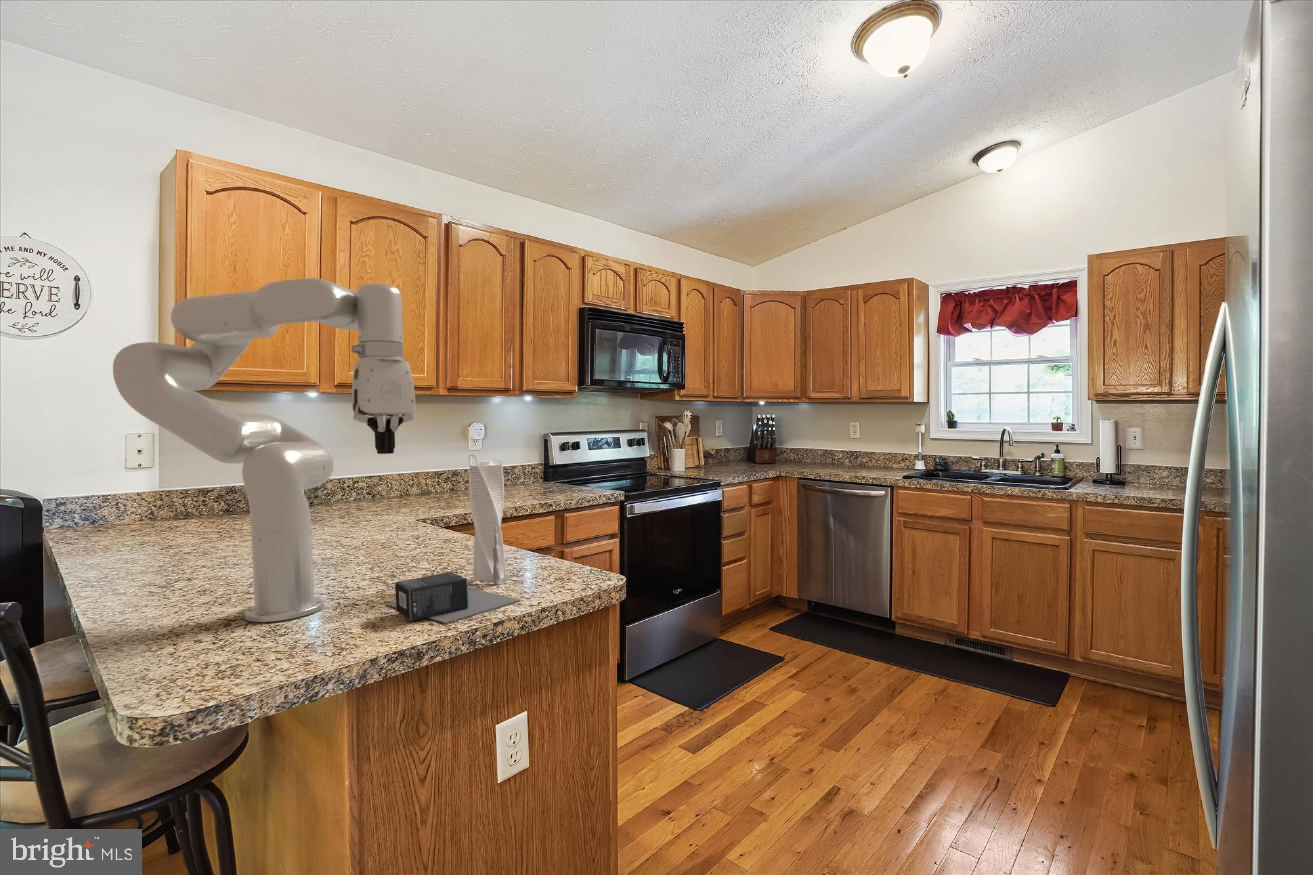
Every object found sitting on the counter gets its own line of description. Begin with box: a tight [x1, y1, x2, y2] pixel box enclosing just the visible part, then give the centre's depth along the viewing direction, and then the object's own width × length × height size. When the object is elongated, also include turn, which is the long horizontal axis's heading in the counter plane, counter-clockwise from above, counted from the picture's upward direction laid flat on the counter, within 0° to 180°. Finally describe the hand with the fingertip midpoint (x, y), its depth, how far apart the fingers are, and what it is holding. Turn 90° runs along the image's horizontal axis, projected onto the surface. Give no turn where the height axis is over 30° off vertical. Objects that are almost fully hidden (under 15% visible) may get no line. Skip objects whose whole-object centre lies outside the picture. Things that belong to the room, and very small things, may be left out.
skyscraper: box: [468, 453, 514, 586], centre depth 134 cm, size 8×8×28 cm
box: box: [394, 571, 469, 622], centre depth 112 cm, size 8×6×11 cm
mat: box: [386, 586, 521, 625], centre depth 117 cm, size 20×16×1 cm
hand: (385, 453), depth 113 cm, fingers closed
